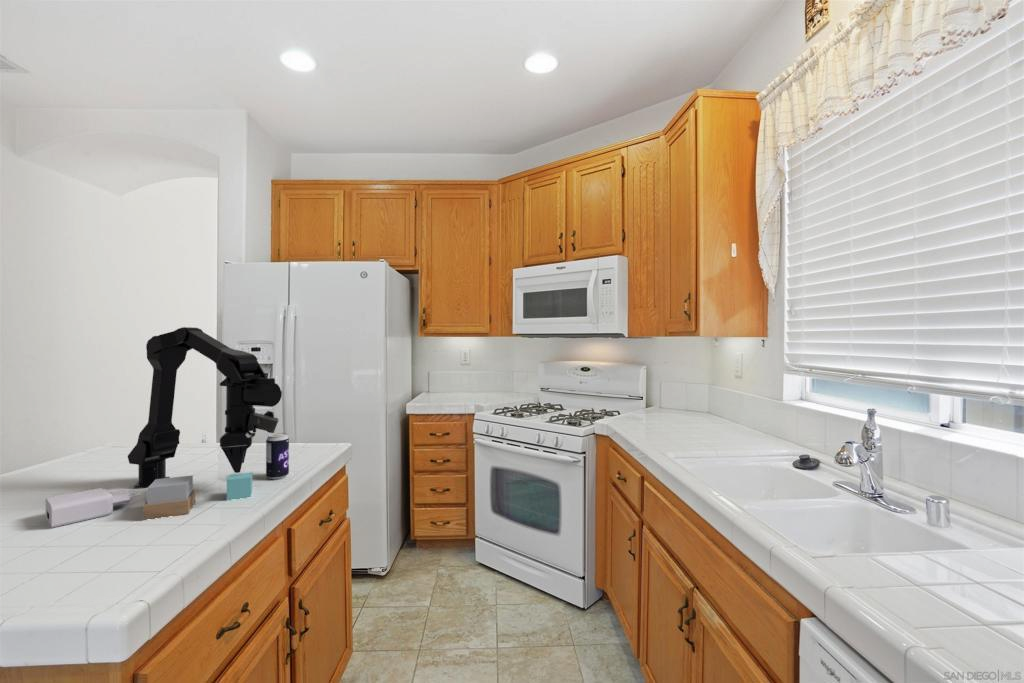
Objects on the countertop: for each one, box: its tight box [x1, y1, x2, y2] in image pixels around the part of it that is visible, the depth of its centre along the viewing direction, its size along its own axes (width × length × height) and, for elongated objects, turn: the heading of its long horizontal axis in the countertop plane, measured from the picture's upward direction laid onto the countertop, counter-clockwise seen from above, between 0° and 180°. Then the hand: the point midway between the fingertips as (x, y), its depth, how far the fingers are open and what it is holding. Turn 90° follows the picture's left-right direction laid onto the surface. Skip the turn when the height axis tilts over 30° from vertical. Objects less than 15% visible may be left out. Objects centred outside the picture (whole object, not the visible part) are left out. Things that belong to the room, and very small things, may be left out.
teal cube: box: [226, 471, 253, 501], centre depth 112 cm, size 5×5×5 cm
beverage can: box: [265, 432, 290, 480], centre depth 127 cm, size 6×6×12 cm
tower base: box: [142, 489, 196, 521], centre depth 102 cm, size 8×8×4 cm
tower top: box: [146, 474, 194, 504], centre depth 102 cm, size 7×7×4 cm
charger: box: [44, 487, 141, 529], centre depth 101 cm, size 5×9×15 cm
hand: (239, 467), depth 112 cm, fingers open, 9 cm apart
